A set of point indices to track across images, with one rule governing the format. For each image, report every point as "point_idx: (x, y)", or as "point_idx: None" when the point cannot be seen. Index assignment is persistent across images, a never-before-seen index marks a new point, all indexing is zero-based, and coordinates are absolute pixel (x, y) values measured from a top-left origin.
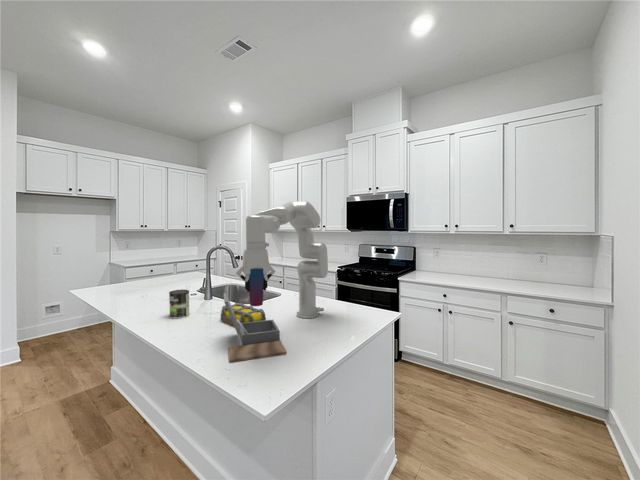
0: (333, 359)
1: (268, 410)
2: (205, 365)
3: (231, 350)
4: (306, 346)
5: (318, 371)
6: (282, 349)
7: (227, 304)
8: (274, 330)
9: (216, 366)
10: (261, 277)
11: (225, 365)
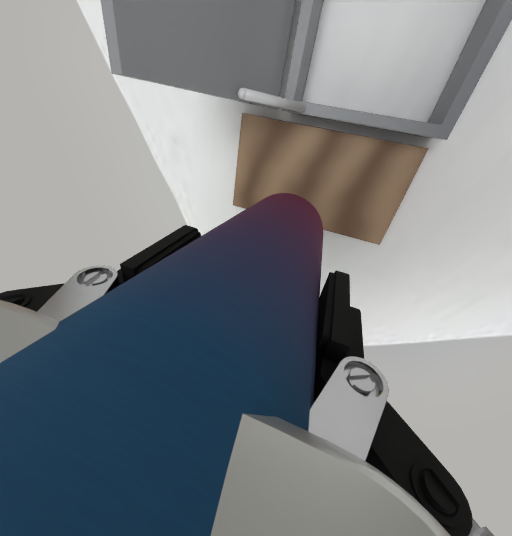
0: (456, 331)
1: None
2: (189, 185)
3: (247, 146)
4: (476, 232)
5: (379, 339)
6: (379, 225)
7: (141, 79)
8: (473, 47)
9: (209, 204)
10: None
11: (226, 210)
